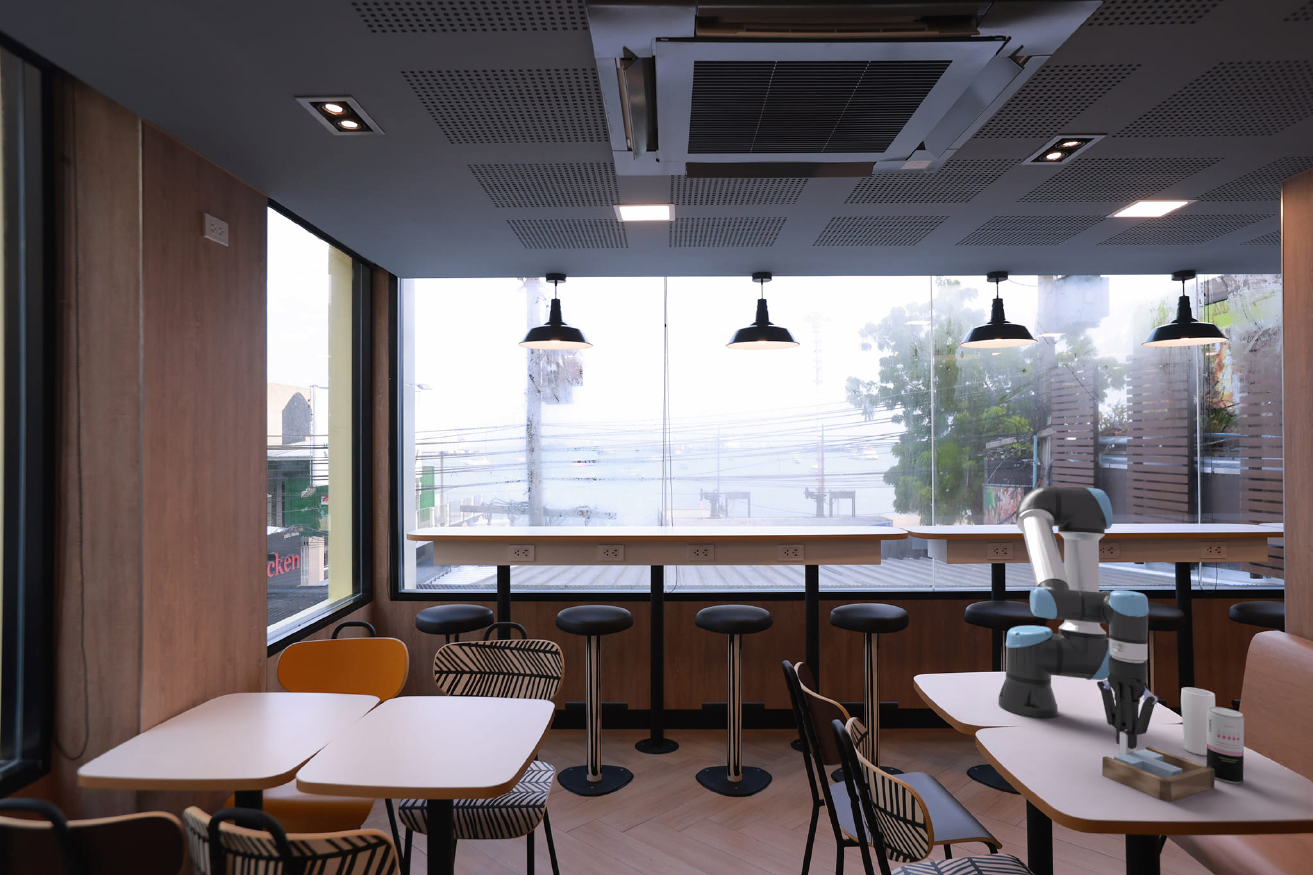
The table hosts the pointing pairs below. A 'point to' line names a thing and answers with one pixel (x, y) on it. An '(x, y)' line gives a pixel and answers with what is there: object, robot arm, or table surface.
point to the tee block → (1149, 763)
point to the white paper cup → (1195, 718)
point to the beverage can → (1225, 744)
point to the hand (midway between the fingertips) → (1126, 760)
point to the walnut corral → (1162, 788)
